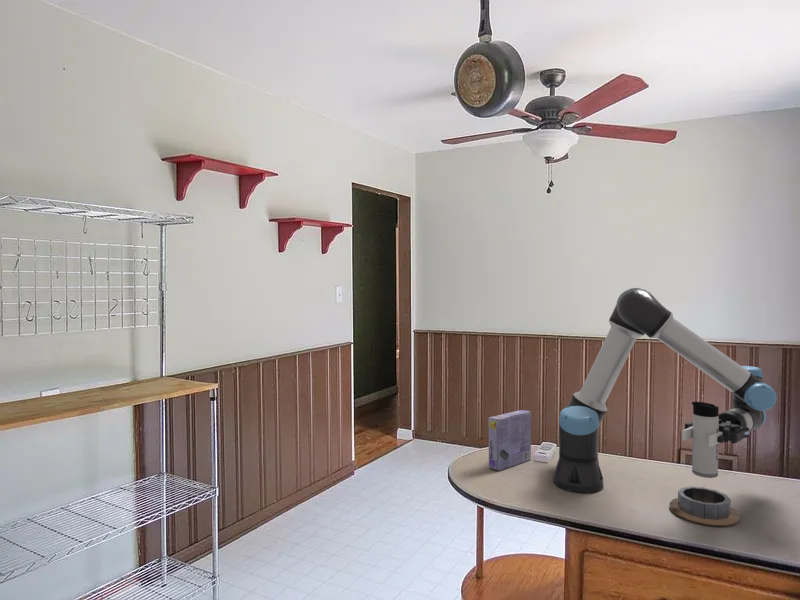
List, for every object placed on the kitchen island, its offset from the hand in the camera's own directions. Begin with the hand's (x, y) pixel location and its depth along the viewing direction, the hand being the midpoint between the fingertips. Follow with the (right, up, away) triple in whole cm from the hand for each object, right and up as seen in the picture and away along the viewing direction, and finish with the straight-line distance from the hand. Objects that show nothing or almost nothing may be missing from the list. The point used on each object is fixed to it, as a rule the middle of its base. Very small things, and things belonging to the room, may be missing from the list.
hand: (696, 438), depth 150 cm
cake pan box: (-41, -20, +44) cm, 64 cm away
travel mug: (+4, -11, +4) cm, 12 cm away
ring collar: (+4, -22, +4) cm, 23 cm away
